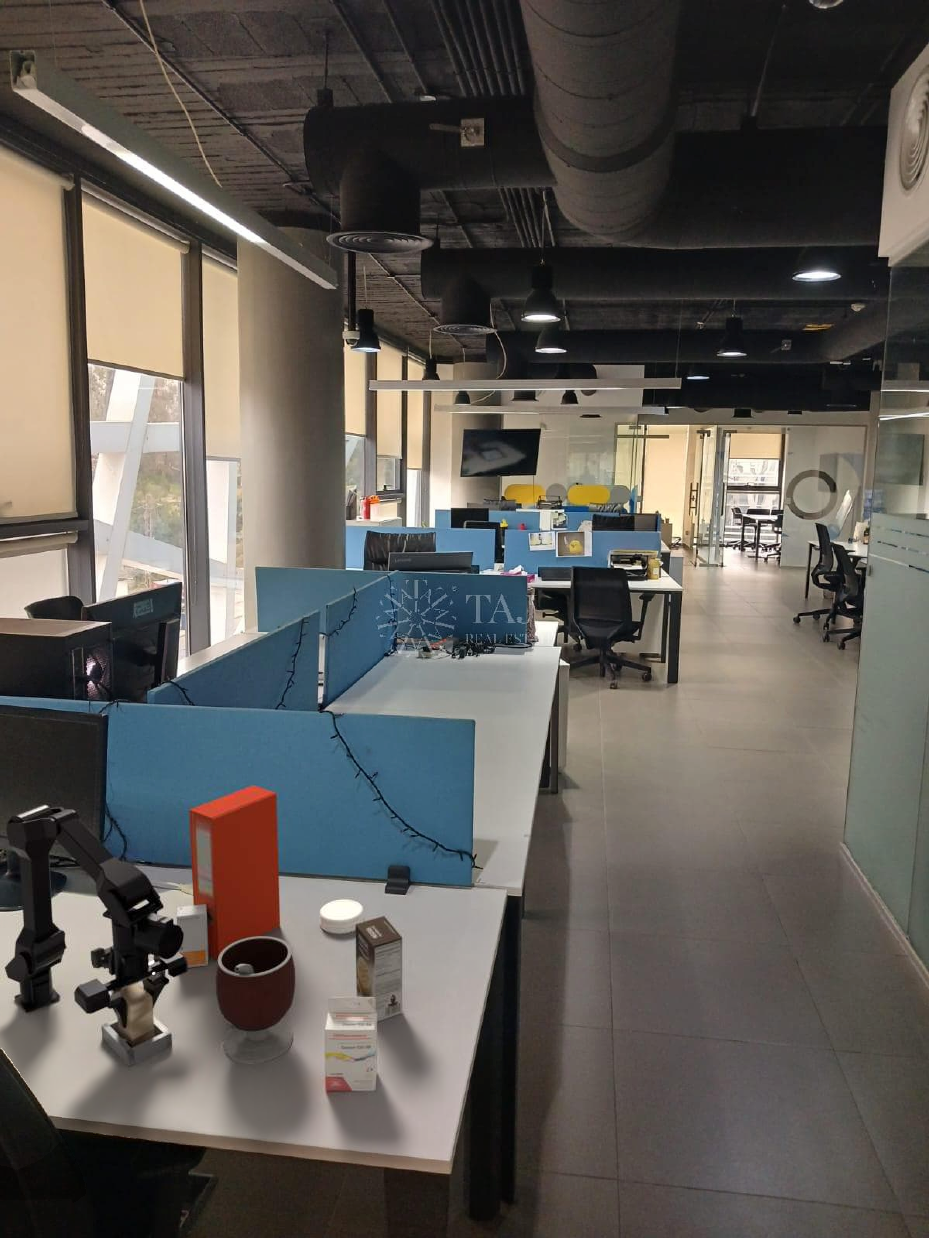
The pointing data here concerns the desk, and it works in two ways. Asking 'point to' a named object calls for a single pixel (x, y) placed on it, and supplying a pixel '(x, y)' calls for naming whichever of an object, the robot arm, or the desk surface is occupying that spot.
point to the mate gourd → (256, 997)
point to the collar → (140, 1051)
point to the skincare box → (194, 934)
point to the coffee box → (379, 965)
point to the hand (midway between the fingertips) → (135, 1021)
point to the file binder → (236, 865)
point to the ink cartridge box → (351, 1045)
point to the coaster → (341, 916)
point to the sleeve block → (137, 1015)
